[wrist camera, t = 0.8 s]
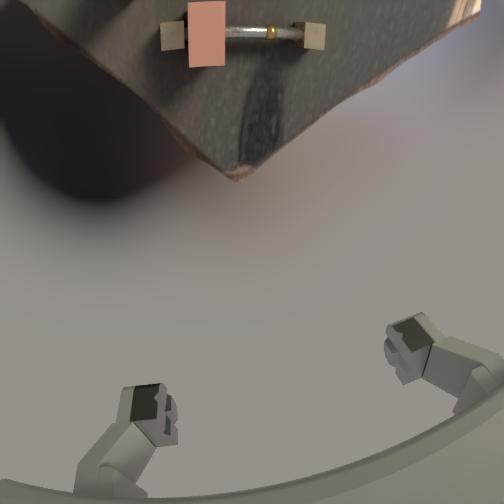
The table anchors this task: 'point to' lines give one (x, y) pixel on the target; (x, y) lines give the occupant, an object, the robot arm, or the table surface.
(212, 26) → the collar
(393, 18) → the table surface
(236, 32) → the pipe rig
